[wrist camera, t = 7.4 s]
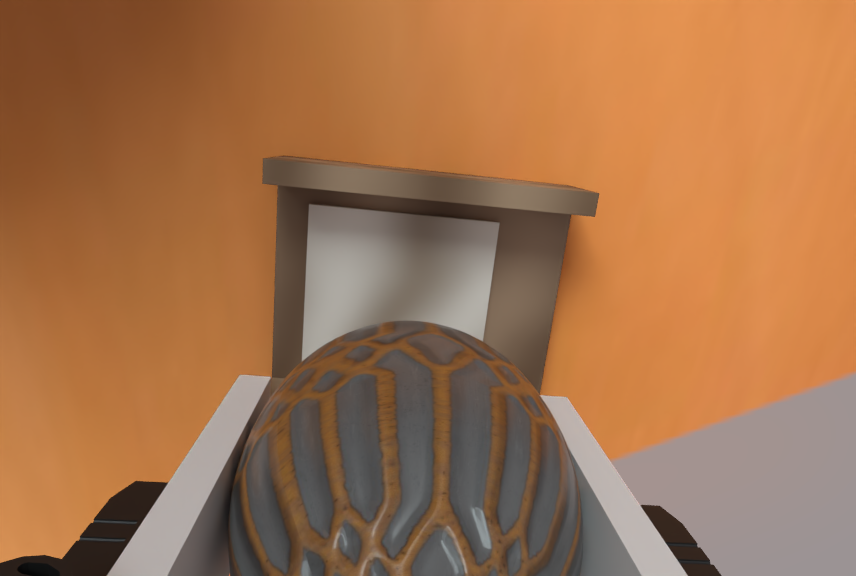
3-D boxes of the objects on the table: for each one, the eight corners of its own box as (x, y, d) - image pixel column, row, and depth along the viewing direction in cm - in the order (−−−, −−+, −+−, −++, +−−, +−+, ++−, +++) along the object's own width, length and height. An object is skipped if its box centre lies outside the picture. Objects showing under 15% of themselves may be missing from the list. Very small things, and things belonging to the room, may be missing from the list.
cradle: (276, 384, 28) (257, 425, 24) (284, 155, 25) (263, 158, 21) (530, 401, 30) (552, 443, 26) (568, 185, 26) (599, 193, 22)
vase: (405, 555, 16) (420, 1025, 7) (222, 414, 14) (-23, 810, 6) (576, 403, 15) (819, 745, 6) (400, 233, 13) (415, 393, 5)
